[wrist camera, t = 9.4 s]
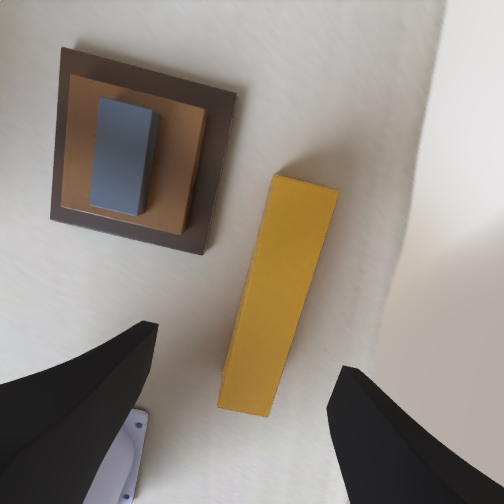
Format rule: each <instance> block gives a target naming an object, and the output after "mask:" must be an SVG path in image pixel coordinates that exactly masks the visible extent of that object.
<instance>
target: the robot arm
mask: <svg viewBox="0 0 504 504" xmlns="http://www.w3.org/2000/svg"><path fill="white" fill-rule="evenodd" d="M158 326H159V324H156V323H152V322H147V321H141V322H139V323H137V324H136V325H134V326H132V327H131V328H129V329H127V330H126V331H124V332H122V333H121V334H119V335H117V336H116V337H114V338H112V339H111V340H109V341H107V342H105V343H103V344H102V345H100V346H98V347H96V348H94V349H92V350H90V351H88V352H86V353H84V354H82V355H80V356H78V357H76V358H74V359H71V360H69V361H67V362H64V363H62V364H59V365H57V366H54V367H52V368H49V369H47V370H44V371H41V372H38V373H35V374H32V375H29V376H26V377H23V378H20V379H17V380H14V381H11V382H7V383H4V384H0V504H132V503H133V497H134V492H135V487H136V481H137V476H138V471H139V465H140V460H141V455H142V449H143V444H144V439H145V433H146V428H147V422H148V414H147V413H146V412H145V411H142V410H137V409H132V408H133V406H134V404H135V403H136V401H137V399H138V397H139V395H140V393H141V391H142V388H143V386H144V384H145V381H146V379H147V377H148V374H149V372H150V368H151V363H152V358H153V352H154V347H155V342H156V337H157V331H158ZM327 416H328V423H329V429H330V434H331V438H332V442H333V445H334V449H335V452H336V456H337V459H338V463H339V466H340V470H341V473H342V476H343V480H344V483H345V487H346V490H347V493H348V497H349V500H350V504H504V487H502V486H501V485H499V484H498V483H496V482H495V481H493V480H492V479H490V478H489V477H487V476H486V475H484V474H483V473H482V472H480V471H479V470H477V469H476V468H474V467H473V466H471V465H470V464H468V463H467V462H466V461H464V460H463V459H462V458H460V457H459V456H458V455H456V454H455V453H454V452H452V451H451V450H450V449H448V448H447V447H446V446H445V445H443V444H442V443H441V442H439V441H438V440H437V439H436V438H435V437H433V436H432V435H431V434H430V433H428V432H427V431H426V430H425V429H424V428H423V427H422V426H420V425H419V424H418V423H417V422H416V421H415V420H413V419H412V418H411V417H410V416H409V415H408V414H407V413H405V411H403V410H402V409H401V408H400V407H399V406H398V405H397V404H396V403H395V402H394V401H393V400H392V399H391V398H390V397H389V396H387V395H386V394H385V393H384V392H383V391H382V390H381V389H380V388H379V387H378V386H377V385H376V384H375V383H374V382H373V381H372V380H371V379H369V378H368V377H367V376H366V375H365V374H364V373H363V372H361V371H360V370H359V369H357V368H353V367H348V366H344V365H343V366H342V369H341V371H340V374H339V376H338V379H337V382H336V384H335V387H334V389H333V392H332V395H331V397H330V400H329V402H328V405H327ZM139 423H141V424H139Z"/></svg>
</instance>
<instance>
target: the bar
mask: <svg viewBox="0 0 504 504" xmlns="http://www.w3.org/2000/svg"><path fill="white" fill-rule="evenodd" d="M338 196H339V191H338V190H334V189H331V188H328V187H324V186H320V185H316V184H312V183H308V182H304V181H300V180H296V179H292V178H288V177H285V176H281V175H277V174H273V177H272V181H271V185H270V188H269V192H268V196H267V200H266V204H265V208H264V212H263V216H262V220H261V224H260V228H259V232H258V235H257V239H256V243H255V247H254V251H253V255H252V259H251V263H250V267H249V271H248V275H247V279H246V283H245V286H244V290H243V294H242V298H241V302H240V306H239V310H238V314H237V318H236V322H235V326H234V330H233V333H232V337H231V341H230V345H229V349H228V353H227V357H226V361H225V365H224V369H223V373H222V378H221V384H220V391H219V398H218V404H217V406H218V408H223V409H228V410H233V411H237V412H242V413H247V414H252V415H257V416H262V417H268V416H269V413H270V410H271V407H272V404H273V400H274V397H275V394H276V391H277V388H278V385H279V382H280V378H281V375H282V372H283V369H284V366H285V363H286V360H287V356H288V353H289V350H290V347H291V344H292V341H293V338H294V334H295V331H296V328H297V325H298V322H299V319H300V316H301V312H302V309H303V306H304V303H305V300H306V297H307V294H308V290H309V287H310V284H311V281H312V278H313V275H314V271H315V268H316V265H317V262H318V259H319V256H320V253H321V249H322V246H323V243H324V240H325V237H326V234H327V231H328V227H329V224H330V221H331V218H332V215H333V212H334V209H335V205H336V202H337V199H338Z"/></svg>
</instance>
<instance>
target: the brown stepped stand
mask: <svg viewBox="0 0 504 504" xmlns="http://www.w3.org/2000/svg"><path fill="white" fill-rule="evenodd" d="M236 102H237V94H236V93H233V92H229V91H225V90H222V89H218V88H214V87H210V86H207V85H203V84H199V83H195V82H192V81H188V80H184V79H181V78H177V77H173V76H169V75H166V74H162V73H158V72H154V71H151V70H147V69H143V68H139V67H136V66H132V65H128V64H125V63H121V62H117V61H113V60H110V59H106V58H102V57H98V56H95V55H91V54H87V53H83V52H80V51H76V50H72V49H69V48H65V47H62V48H61V59H60V74H59V90H58V105H57V120H56V136H55V151H54V166H53V182H52V197H51V213H50V220H52V221H56V222H61V223H65V224H69V225H74V226H78V227H82V228H86V229H91V230H95V231H99V232H103V233H108V234H112V235H116V236H121V237H125V238H129V239H133V240H138V241H142V242H146V243H151V244H155V245H159V246H163V247H168V248H172V249H176V250H181V251H185V252H189V253H193V254H198V255H203V254H204V253H205V249H206V245H207V240H208V235H209V230H210V226H211V221H212V216H213V211H214V207H215V202H216V197H217V192H218V188H219V183H220V178H221V174H222V169H223V164H224V159H225V155H226V150H227V145H228V140H229V136H230V131H231V126H232V121H233V117H234V112H235V107H236Z"/></svg>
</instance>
